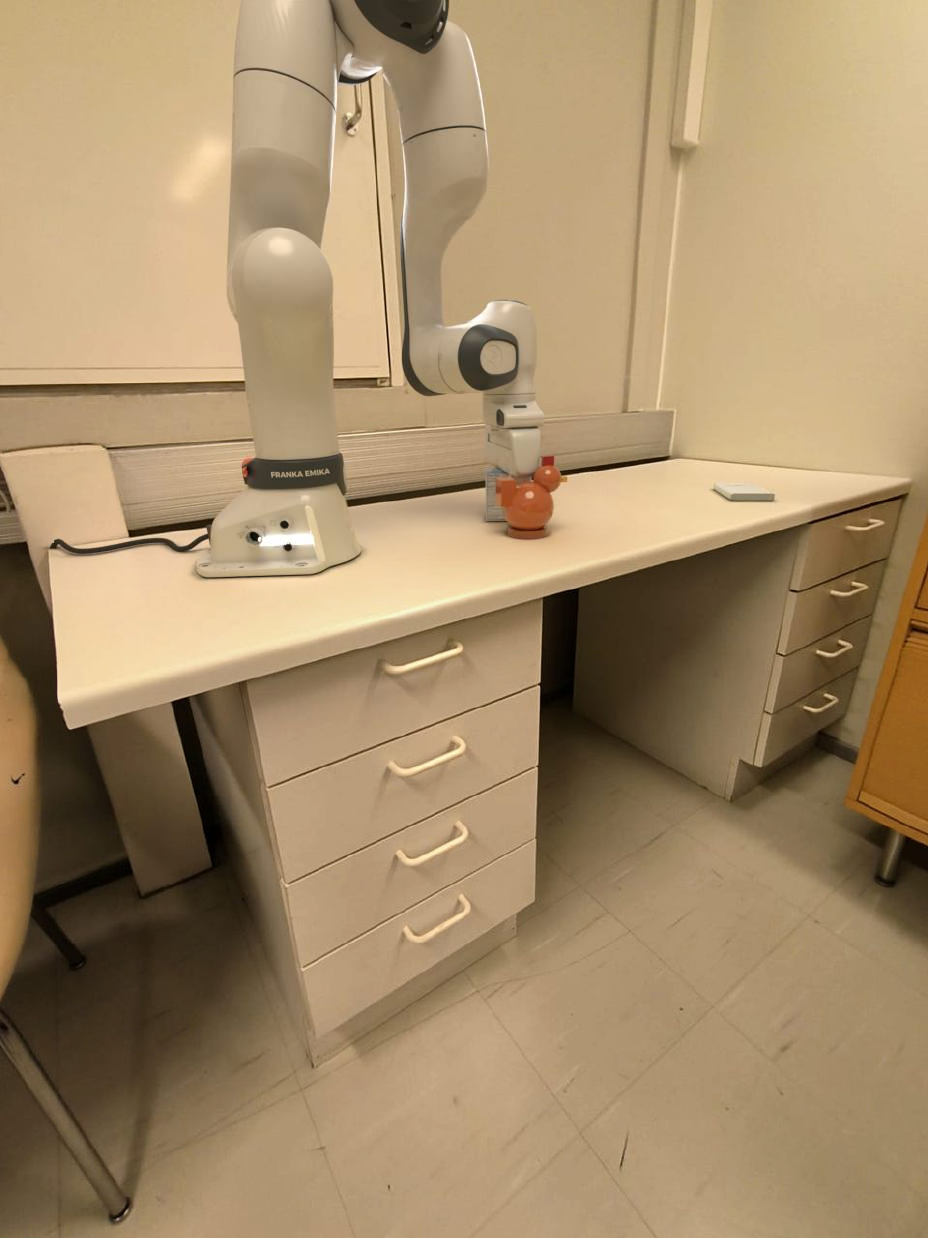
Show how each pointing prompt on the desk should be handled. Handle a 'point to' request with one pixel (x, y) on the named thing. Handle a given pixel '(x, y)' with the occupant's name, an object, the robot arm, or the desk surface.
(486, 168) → the robot arm
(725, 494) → the hard drive
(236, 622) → the desk surface
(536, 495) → the ceramic hen
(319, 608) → the desk surface
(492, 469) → the medicine box
